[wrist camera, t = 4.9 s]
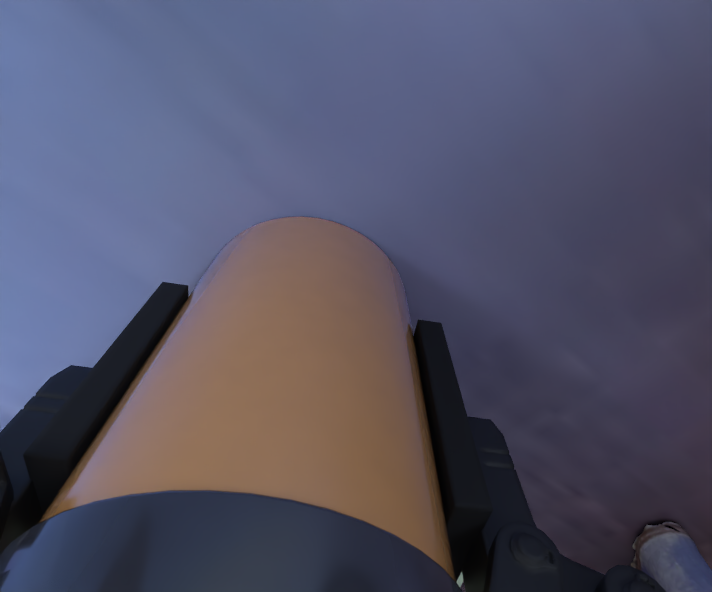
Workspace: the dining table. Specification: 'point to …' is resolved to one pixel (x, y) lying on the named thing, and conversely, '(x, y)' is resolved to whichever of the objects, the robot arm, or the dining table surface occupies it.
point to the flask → (671, 559)
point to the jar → (260, 440)
